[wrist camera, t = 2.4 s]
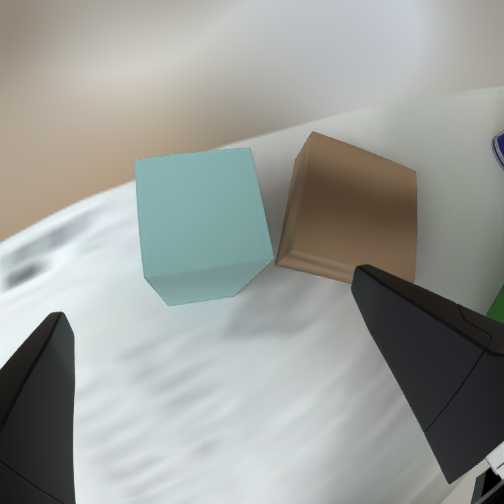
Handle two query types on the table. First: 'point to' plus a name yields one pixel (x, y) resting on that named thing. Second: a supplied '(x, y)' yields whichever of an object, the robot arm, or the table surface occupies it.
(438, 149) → the table surface
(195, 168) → the teal block
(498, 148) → the energy drink
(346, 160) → the walnut block
